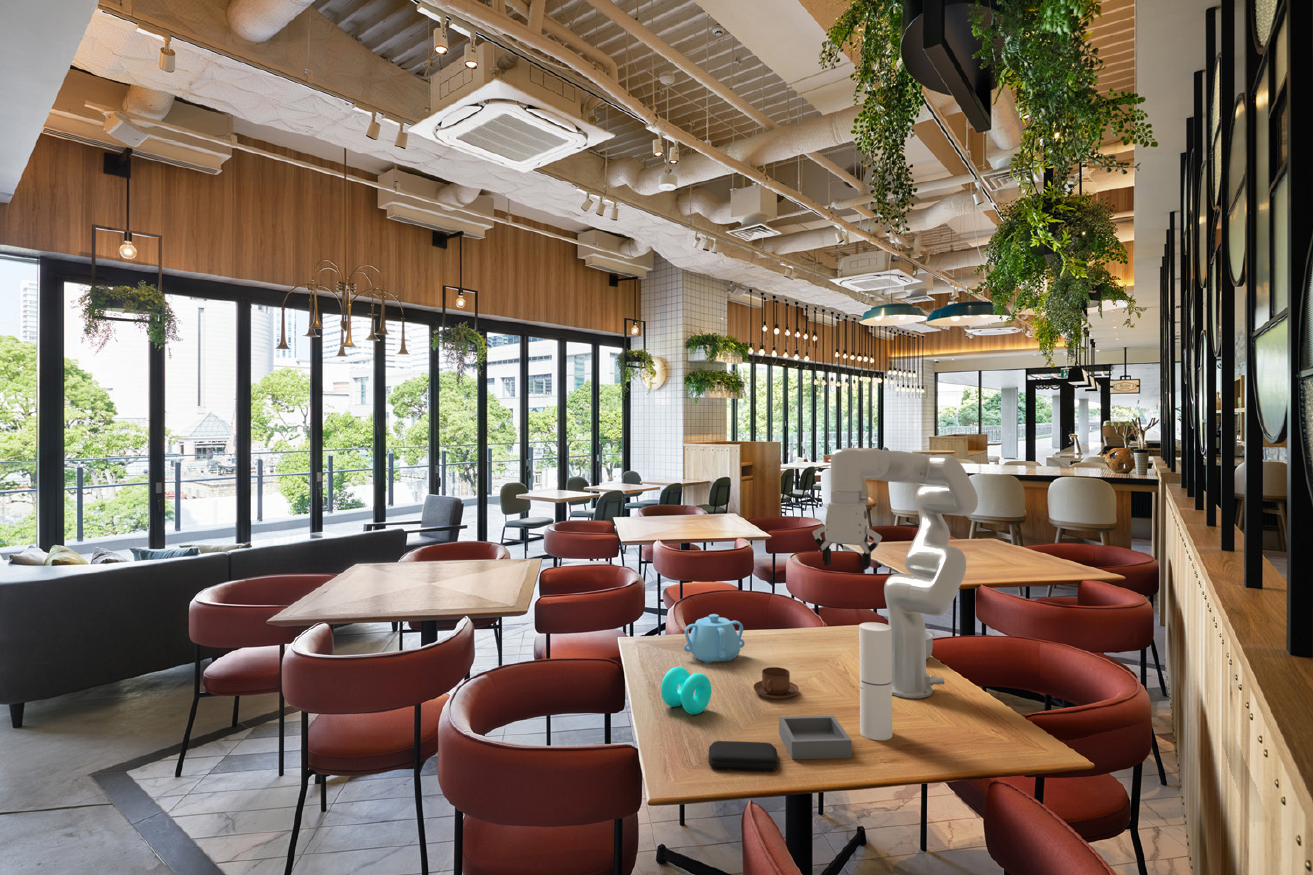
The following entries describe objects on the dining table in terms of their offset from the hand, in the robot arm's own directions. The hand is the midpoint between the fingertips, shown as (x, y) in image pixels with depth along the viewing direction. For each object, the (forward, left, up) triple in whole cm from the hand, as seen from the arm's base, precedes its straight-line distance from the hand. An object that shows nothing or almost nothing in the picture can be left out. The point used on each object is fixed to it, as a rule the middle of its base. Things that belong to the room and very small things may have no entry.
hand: (846, 566), depth 172 cm
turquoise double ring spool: (+40, -5, -37) cm, 55 cm away
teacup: (-33, -41, -37) cm, 64 cm away
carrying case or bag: (+30, +23, -37) cm, 53 cm away
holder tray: (+13, +17, -37) cm, 42 cm away
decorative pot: (+28, -45, -37) cm, 65 cm away
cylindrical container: (-3, +12, -37) cm, 39 cm away
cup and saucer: (+15, -14, -37) cm, 43 cm away
